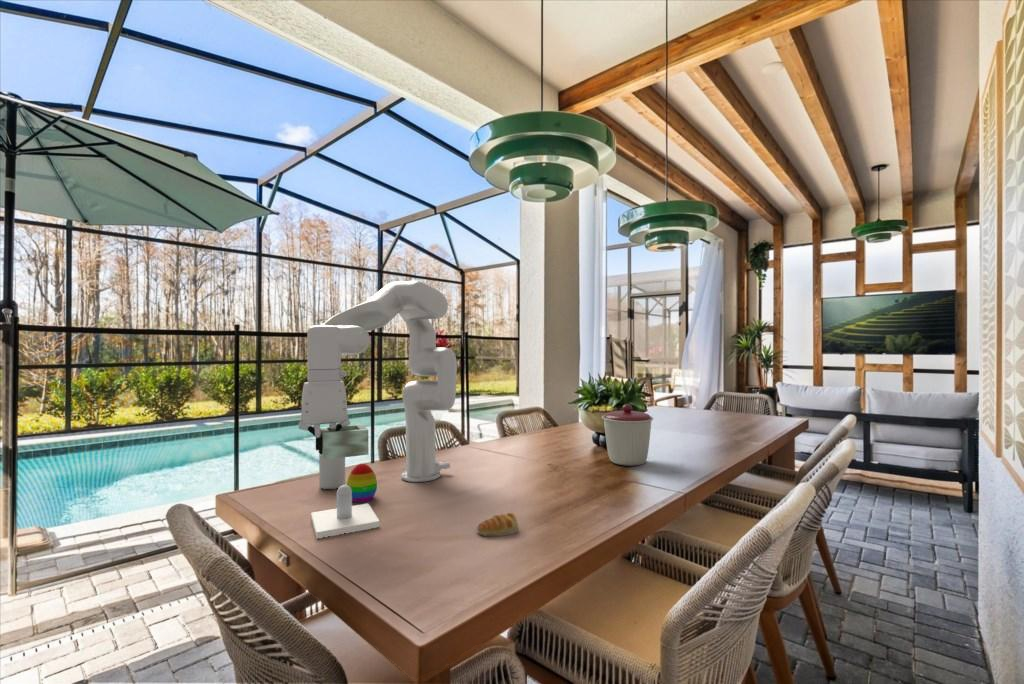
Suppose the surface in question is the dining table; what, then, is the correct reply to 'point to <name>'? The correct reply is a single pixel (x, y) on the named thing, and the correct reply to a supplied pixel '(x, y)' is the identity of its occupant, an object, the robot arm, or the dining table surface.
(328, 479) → the can
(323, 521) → the post board
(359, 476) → the decorative egg
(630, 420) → the canister
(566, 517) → the dining table surface
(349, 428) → the collar
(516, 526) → the pastry
